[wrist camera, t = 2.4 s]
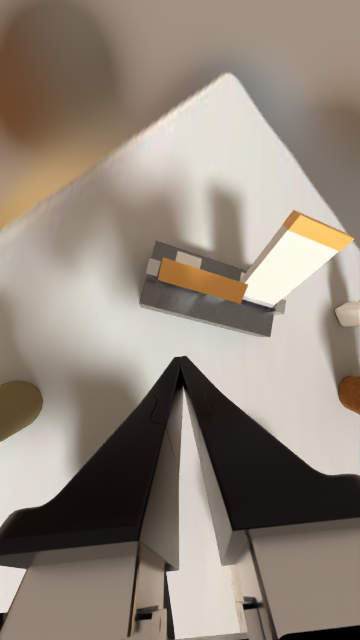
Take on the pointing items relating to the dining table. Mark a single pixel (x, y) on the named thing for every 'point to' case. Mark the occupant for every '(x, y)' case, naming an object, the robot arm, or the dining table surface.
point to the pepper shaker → (18, 406)
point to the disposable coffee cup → (350, 393)
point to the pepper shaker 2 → (349, 314)
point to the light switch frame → (204, 296)
